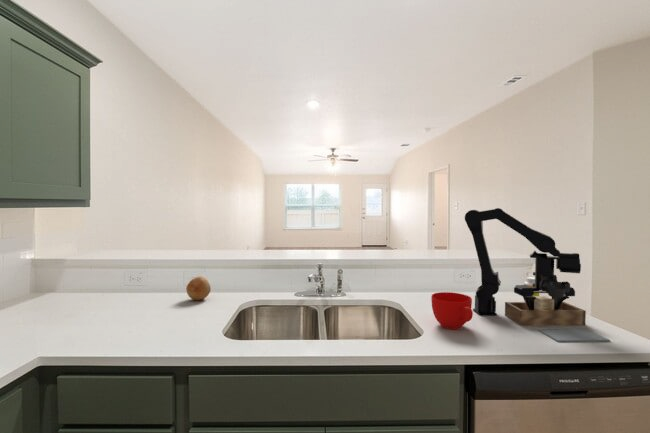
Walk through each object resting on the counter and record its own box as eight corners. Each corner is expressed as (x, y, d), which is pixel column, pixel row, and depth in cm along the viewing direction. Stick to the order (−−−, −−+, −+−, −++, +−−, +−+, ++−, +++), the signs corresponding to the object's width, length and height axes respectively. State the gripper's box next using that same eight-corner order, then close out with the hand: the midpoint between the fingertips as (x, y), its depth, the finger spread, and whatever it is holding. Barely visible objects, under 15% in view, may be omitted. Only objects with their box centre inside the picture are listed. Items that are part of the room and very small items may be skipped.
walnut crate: (521, 325, 124) (521, 311, 124) (504, 315, 135) (505, 302, 135) (585, 325, 124) (585, 310, 124) (563, 315, 135) (564, 301, 135)
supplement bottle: (520, 301, 154) (521, 277, 154) (531, 299, 156) (531, 276, 156) (531, 304, 149) (532, 279, 149) (542, 303, 151) (542, 278, 150)
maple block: (540, 322, 127) (541, 299, 127) (533, 318, 132) (533, 296, 131) (553, 322, 127) (554, 299, 127) (545, 318, 132) (546, 296, 131)
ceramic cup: (452, 339, 112) (453, 307, 112) (423, 321, 128) (424, 293, 128) (488, 335, 115) (489, 303, 115) (455, 318, 132) (456, 291, 131)
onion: (187, 297, 160) (186, 275, 160) (210, 296, 163) (210, 274, 163) (185, 303, 151) (185, 279, 151) (210, 301, 154) (210, 278, 154)
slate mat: (557, 341, 109) (557, 340, 109) (537, 330, 119) (537, 328, 119) (610, 341, 110) (610, 340, 110) (586, 329, 120) (586, 328, 120)
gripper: (531, 275, 121) (530, 322, 121) (587, 275, 121) (586, 321, 122) (513, 269, 132) (512, 312, 132) (564, 269, 132) (563, 311, 133)
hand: (543, 314), depth 129 cm, fingers open, 8 cm apart
